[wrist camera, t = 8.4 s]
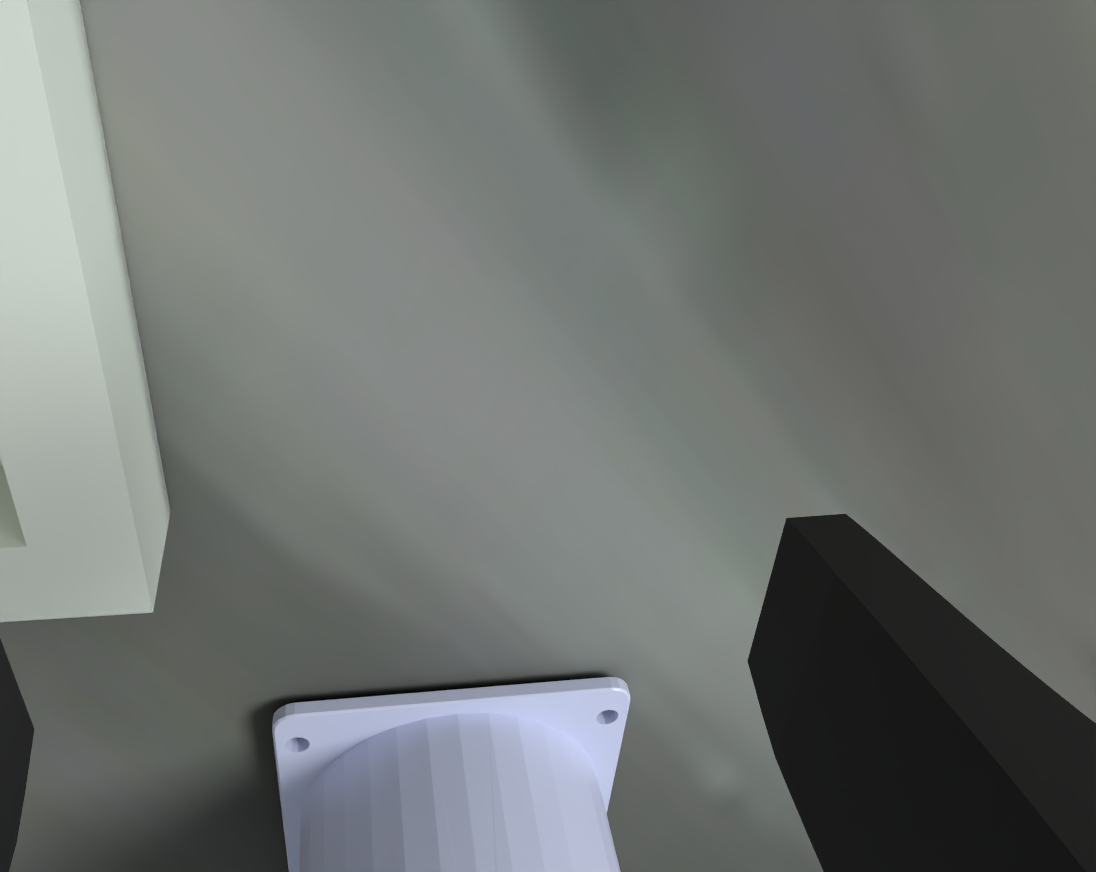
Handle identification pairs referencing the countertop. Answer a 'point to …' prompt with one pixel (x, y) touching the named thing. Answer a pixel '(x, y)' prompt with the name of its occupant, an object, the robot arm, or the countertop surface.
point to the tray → (68, 345)
